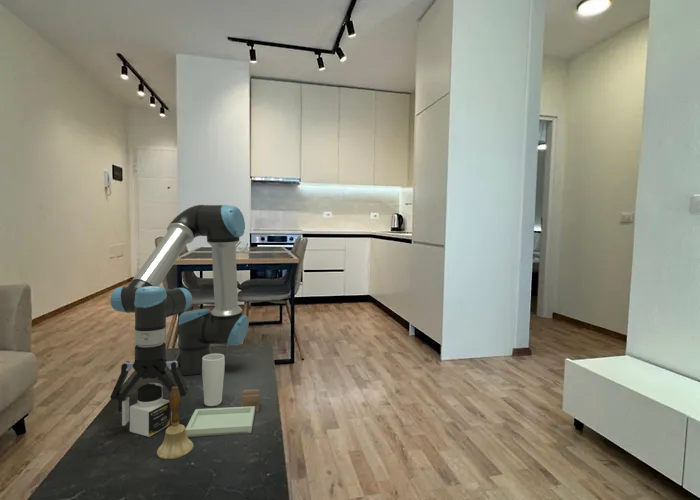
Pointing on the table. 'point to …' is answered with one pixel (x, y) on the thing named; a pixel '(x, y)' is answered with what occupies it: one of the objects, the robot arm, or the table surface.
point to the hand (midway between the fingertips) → (150, 421)
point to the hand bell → (175, 432)
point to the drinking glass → (213, 378)
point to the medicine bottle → (149, 411)
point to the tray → (221, 421)
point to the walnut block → (250, 398)
